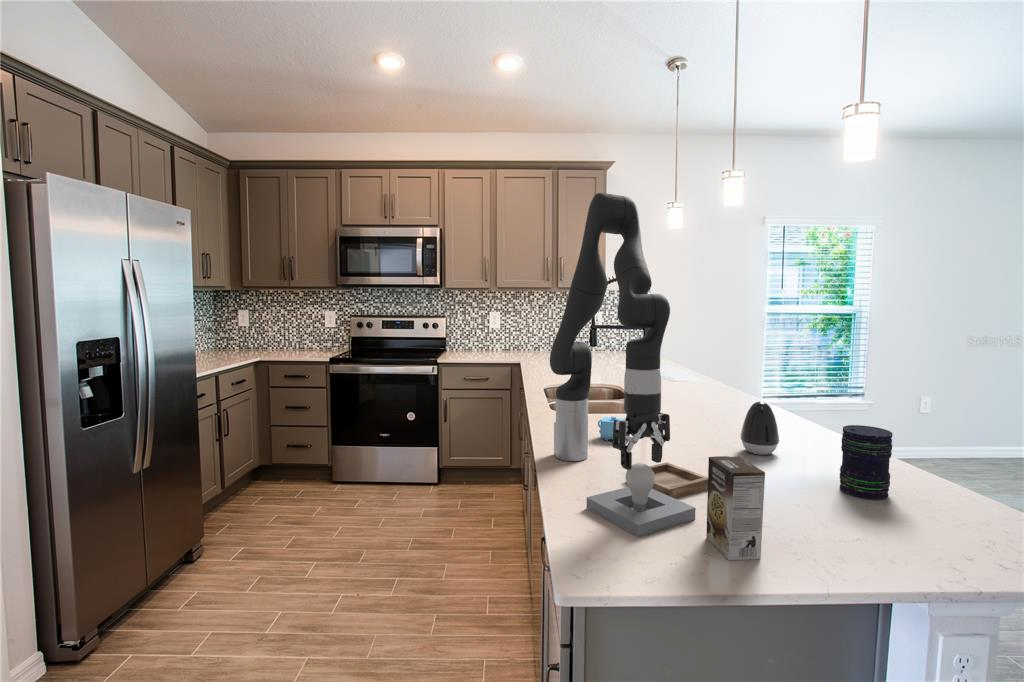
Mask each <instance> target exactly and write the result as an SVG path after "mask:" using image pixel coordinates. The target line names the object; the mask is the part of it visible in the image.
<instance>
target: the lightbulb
mask: <svg viewBox="0 0 1024 682" xmlns="http://www.w3.org/2000/svg"><path fill="white" fill-rule="evenodd" d="M624 479H625V482H626V485H627V487H629V488H630V490H631V494H632V501H633V506H632V507H633V508H632V509H633V510H635V511H637V512H643V511H646V509H647V507H646V503H647V498H648V494H649V492H650V490H651V489H652V487H653V485H654V482H655V475H654V472H653V470H652V469H651V468H650V467H649V465H647V464H646V463H643V462H636V463H633V464H632V468H631V469H629V470H627V469H626V472H625V478H624Z"/></svg>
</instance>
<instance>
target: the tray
mask: <svg viewBox="0 0 1024 682" xmlns="http://www.w3.org/2000/svg"><path fill="white" fill-rule="evenodd" d="M648 466H649V465H648ZM649 467H650V468H651V469H652V470H653V472H654V475H655V482H654V485H653V487H652V489H654V490H656V491H658V492H661V493H663V494H665V495H668V496H670V497H672V498H675V499H678V498H681V497H682V498H683V497H685V495H686V496H689V495H692V493H693V494H696V493H698V492H699V491H700V492H702V491H706V489H707V490H708V476H705V475H702V474H700V473H696V472H694V471H691V470H689V469H685V468H683V467H680V466H679V465H675V464H673V463H669V462H663V463H657V464H654V465H650V466H649ZM695 492H696V493H695ZM700 492H699V493H700ZM688 494H689V495H688Z"/></svg>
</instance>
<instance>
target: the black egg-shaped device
mask: <svg viewBox="0 0 1024 682" xmlns="http://www.w3.org/2000/svg"><path fill="white" fill-rule="evenodd" d="M740 440H741V443H742V445H743V448H744V449H745V450H746V451H747V452H749V453H751V454H753V455H757V456H758V455H759V456H767V455H770V454H772V453H774V451H776V449H777V447H778V444H779V443H780V435H779V428H778V424H777V421H776V417H775V413H774V411H773V409H772V408H771V406H770V405H769V404H768V403H766V402H765V401H756V402H754V403H753V404H751V405H750V407H749V409H748V411H747V412H746V414H745V418H744V420H743V424H742V428H741V432H740Z"/></svg>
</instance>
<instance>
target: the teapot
mask: <svg viewBox="0 0 1024 682" xmlns="http://www.w3.org/2000/svg"><path fill="white" fill-rule="evenodd" d="M625 419H626V418H619V417H616V416H615V415H613V416H610V417H607V416H606V417H605V416H604V417H603V418H602V419H599V420H598V421H597V426H598V428H599V430H598V433H599V435H600V439H603V440H609V441H610V440H613V424H614V420H620V421H622V420H625ZM626 428H627V427H626Z"/></svg>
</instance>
